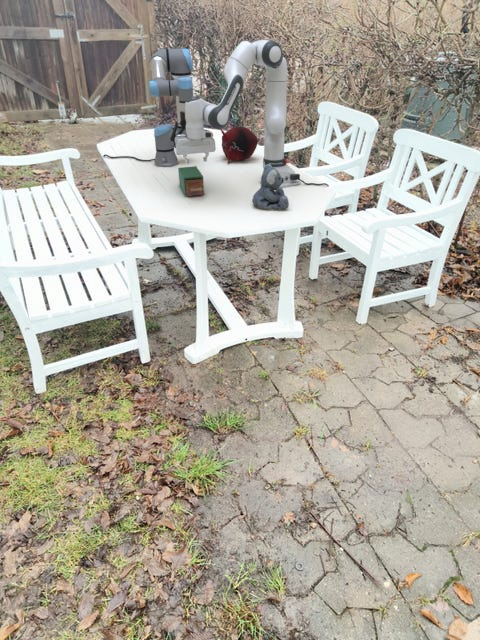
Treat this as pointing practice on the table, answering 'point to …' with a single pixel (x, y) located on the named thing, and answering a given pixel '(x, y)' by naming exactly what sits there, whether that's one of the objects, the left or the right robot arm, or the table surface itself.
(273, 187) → the koala plush
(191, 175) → the cabinet
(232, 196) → the table surface
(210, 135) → the right robot arm
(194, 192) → the drawer
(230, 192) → the table surface
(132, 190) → the table surface
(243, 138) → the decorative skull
